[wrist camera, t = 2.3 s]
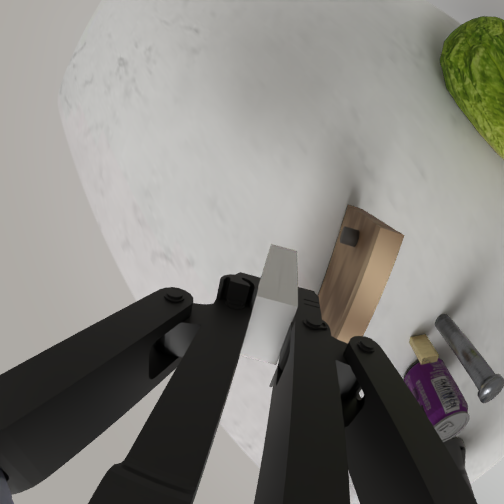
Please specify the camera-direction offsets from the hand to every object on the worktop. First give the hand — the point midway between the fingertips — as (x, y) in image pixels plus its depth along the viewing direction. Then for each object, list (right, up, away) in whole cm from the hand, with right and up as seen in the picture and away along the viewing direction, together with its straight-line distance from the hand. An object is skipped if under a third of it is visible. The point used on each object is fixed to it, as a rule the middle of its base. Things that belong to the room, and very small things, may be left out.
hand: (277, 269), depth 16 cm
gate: (+7, -1, +14) cm, 16 cm away
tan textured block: (+21, -11, +16) cm, 28 cm away
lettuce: (+30, +18, +6) cm, 35 cm away
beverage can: (+24, -17, +17) cm, 34 cm away
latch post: (+24, -8, +14) cm, 29 cm away
